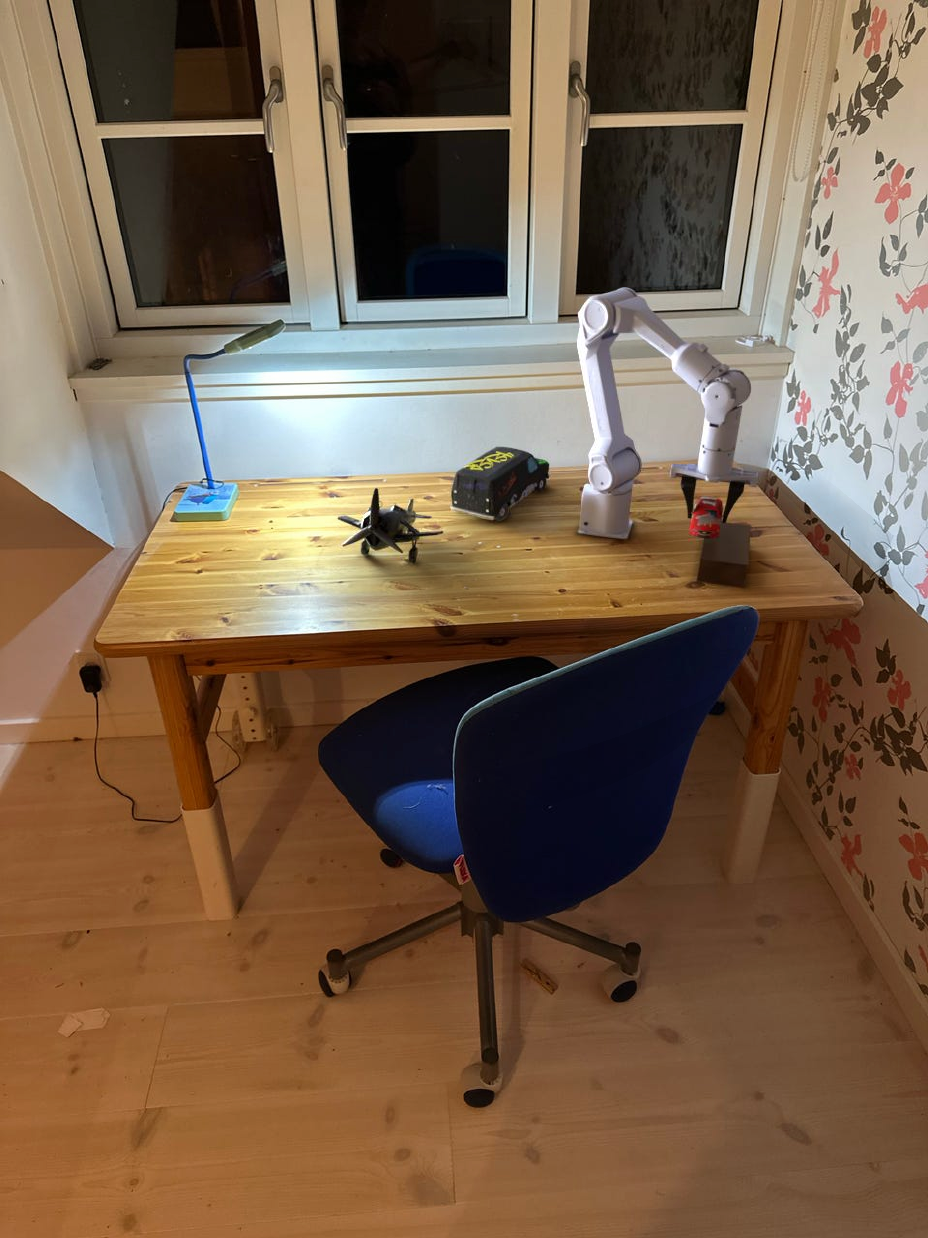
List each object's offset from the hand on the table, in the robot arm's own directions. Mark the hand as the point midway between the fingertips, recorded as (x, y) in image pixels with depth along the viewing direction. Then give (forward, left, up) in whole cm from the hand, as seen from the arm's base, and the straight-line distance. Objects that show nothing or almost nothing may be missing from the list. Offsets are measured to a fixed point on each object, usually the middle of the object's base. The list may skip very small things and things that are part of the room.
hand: (706, 518), depth 149 cm
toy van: (-42, +15, -9) cm, 45 cm away
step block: (+4, 0, -8) cm, 9 cm away
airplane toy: (-55, -13, -9) cm, 57 cm away
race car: (0, 0, -2) cm, 2 cm away
